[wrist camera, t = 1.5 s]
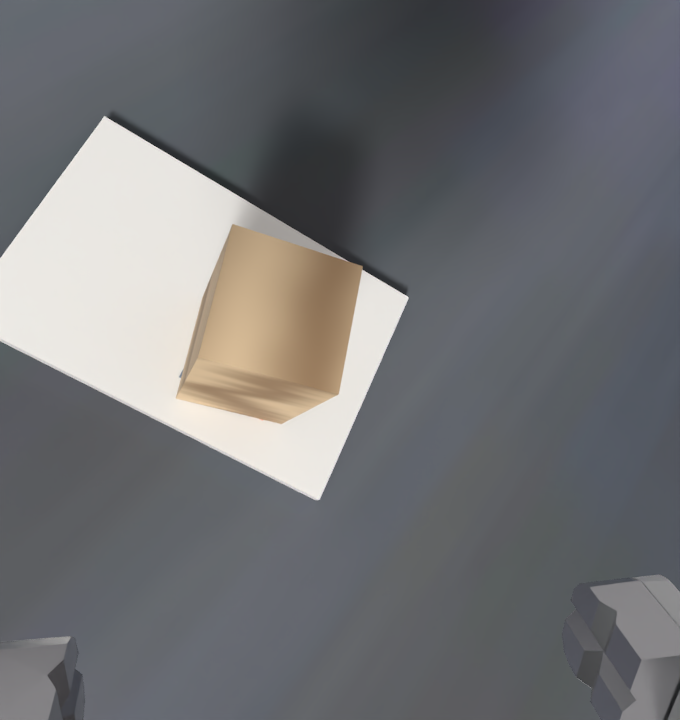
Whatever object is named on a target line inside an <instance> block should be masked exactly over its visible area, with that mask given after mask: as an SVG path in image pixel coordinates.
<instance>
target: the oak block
mask: <svg viewBox="0 0 680 720" xmlns="http://www.w3.org/2000/svg"><path fill="white" fill-rule="evenodd" d="M362 268H363V266H360V265H357V264H354V263H351V262H348V261H345V260H342V259H339V258H336V257H333V256H330V255H327V254H323V253H320V252H317V251H314V250H311V249H308V248H305V247H302V246H299V245H296V244H293V243H290V242H287V241H284V240H280V239H277V238H274V237H271V236H268V235H265V234H262V233H259V232H256V231H253V230H250V229H247V228H244V227H240V226H237V225H234V224H232V227H231V229H230V231H229V234H228V236H227V239H226V241H225V244H224V246H223V248H222V251H221V253H220V256H219V258H218V261H217V263H216V266H215V268H214V270H213V273H212V275H211V278H210V280H209V283H208V285H207V287H206V290H205V292H204V295H203V297H202V301H201V305H200V309H199V312H198V316H197V320H196V324H195V327H194V331H193V335H192V339H191V342H190V346H189V350H188V354H187V358H186V361H185V365H184V369H183V373H182V376H181V380H180V384H179V388H178V392H177V395H176V399H180V400H184V401H188V402H192V403H196V404H200V405H205V406H209V407H213V408H217V409H221V410H225V411H229V412H233V413H238V414H242V415H246V416H250V417H254V418H258V419H262V420H266V421H270V422H275V423H279V424H283V423H285V422H286V421H288V420H290V419H292V418H294V417H296V416H298V415H300V414H302V413H304V412H306V411H308V410H310V409H312V408H313V407H315V406H317V405H319V404H321V403H323V402H325V401H327V400H329V399H331V398H333V397H335V396H337V395H339V391H340V386H341V380H342V375H343V370H344V364H345V359H346V354H347V348H348V343H349V338H350V332H351V327H352V322H353V316H354V311H355V306H356V300H357V295H358V290H359V284H360V279H361V274H362Z"/></svg>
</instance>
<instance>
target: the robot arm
mask: <svg viewBox="0 0 680 720" xmlns="http://www.w3.org/2000/svg"><path fill="white" fill-rule="evenodd" d="M571 602H572V603H573V605H574V606H575V608H576V609H575V610H574V611H573V612H572V613H571V614H570V615H569V616H568V617H567V618H566V619H565V623H564V627H563V632H562V639H563V647H564V652H565V655H566V658H567V661H568V663H569V665H570V667H571V669H572V671H573V672H574V674H575V676H576V678H578V679H579V680H581V681H582V682H584V683H585V684H586V685H588V686H589V687H591V688H592V691H591V701H590V702H591V704H592V705H593V707H594V709H595V710H596V712H597V714H598V715H599V717H600V719H601V720H680V592H679V591H678V590H677V589H676V587H675V586H674V585H673V584H672V583H671V582H670V581H669V580H668V579H667V578H665V577H663V576H662V575H652V576H643V577H634V578H622V579H614V580H605V581H596V582H588V583H580V584H579V585H578V586H577V587H576V588H575V589H574V591H573V594H572V597H571ZM77 658H78V648H77V644H76V639H75V637H72V636H70V637H57V638H44V639H31V640H18V641H5V642H0V720H83V717H84V705H85V695H84V682H83V676H82V674H81V673H80V672H79V671H77V670H76V669H75V667H76V663H77Z"/></svg>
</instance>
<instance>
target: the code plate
mask: <svg viewBox="0 0 680 720" xmlns="http://www.w3.org/2000/svg"><path fill="white" fill-rule="evenodd" d="M232 224H234V225H237V226H240V227H244V228H247V229H250V230H253V231H256V232H259V233H262V234H265V235H268V236H271V237H274V238H277V239H280V240H284V241H287V242H290V243H293V244H296V245H299V246H302V247H305V248H308V249H311V250H314V251H317V252H320V253H323V254H327V255H330V256H333V257H336V258H339V259H342V260H345V259H343V258H342V257H340V256H338V255H337V254H335V253H333V252H332V251H330V250H328V249H327V248H325V247H323V246H322V245H320V244H318V243H317V242H315V241H313V240H312V239H310V238H308V237H306V236H305V235H303V234H301V233H300V232H298V231H296V230H295V229H293V228H291V227H290V226H288V225H286V224H285V223H283V222H281V221H280V220H278V219H276V218H275V217H273V216H271V215H270V214H268V213H266V212H264V211H263V210H261V209H259V208H258V207H256V206H254V205H253V204H251V203H249V202H248V201H246V200H244V199H243V198H241V197H239V196H238V195H236V194H234V193H233V192H231V191H229V190H228V189H226V188H224V187H222V186H221V185H219V184H217V183H216V182H214V181H212V180H211V179H209V178H207V177H206V176H204V175H202V174H201V173H199V172H197V171H196V170H194V169H192V168H191V167H189V166H187V165H186V164H184V163H182V162H180V161H179V160H177V159H175V158H174V157H172V156H170V155H169V154H167V153H165V152H164V151H162V150H160V149H159V148H157V147H155V146H154V145H152V144H150V143H149V142H147V141H145V140H144V139H142V138H140V137H138V136H137V135H135V134H133V133H132V132H130V131H128V130H127V129H125V128H123V127H122V126H120V125H118V124H117V123H115V122H113V121H112V120H110V119H108V118H107V117H105V116H104V118H103V119H102V120H101V122H100V123H99V125H98V126H97V127H96V129H95V130H94V131H93V133H92V134H91V135H90V137H89V138H88V140H87V141H86V142H85V144H84V145H83V146H82V148H81V149H80V150H79V152H78V153H77V155H76V156H75V157H74V159H73V160H72V161H71V163H70V164H69V165H68V167H67V168H66V169H65V171H64V172H63V174H62V175H61V176H60V178H59V179H58V180H57V182H56V183H55V184H54V186H53V187H52V189H51V190H50V191H49V193H48V194H47V195H46V197H45V198H44V199H43V201H42V202H41V204H40V205H39V206H38V208H37V209H36V210H35V212H34V213H33V214H32V216H31V217H30V219H29V220H28V221H27V223H26V224H25V225H24V227H23V228H22V229H21V231H20V232H19V234H18V235H17V236H16V238H15V239H14V240H13V242H12V243H11V244H10V246H9V247H8V249H7V250H6V251H5V253H4V254H3V255H2V257H1V258H0V341H1V342H3V343H5V344H7V345H9V346H11V347H13V348H15V349H17V350H19V351H21V352H23V353H25V354H27V355H29V356H31V357H33V358H34V359H36V360H38V361H40V362H42V363H44V364H46V365H48V366H50V367H52V368H54V369H56V370H58V371H60V372H62V373H64V374H66V375H68V376H70V377H72V378H74V379H76V380H78V381H80V382H82V383H84V384H86V385H88V386H90V387H92V388H94V389H96V390H98V391H100V392H102V393H104V394H106V395H108V396H110V397H112V398H114V399H116V400H118V401H120V402H122V403H124V404H126V405H128V406H130V407H132V408H134V409H136V410H138V411H139V412H141V413H143V414H145V415H147V416H149V417H151V418H153V419H155V420H157V421H159V422H161V423H163V424H165V425H167V426H169V427H171V428H173V429H175V430H177V431H179V432H181V433H183V434H185V435H187V436H189V437H191V438H193V439H195V440H197V441H199V442H201V443H203V444H205V445H207V446H209V447H211V448H213V449H215V450H217V451H219V452H221V453H223V454H225V455H227V456H229V457H231V458H233V459H235V460H237V461H239V462H241V463H243V464H245V465H246V466H248V467H250V468H252V469H254V470H256V471H258V472H260V473H262V474H264V475H266V476H268V477H270V478H272V479H274V480H276V481H278V482H280V483H282V484H284V485H286V486H288V487H290V488H292V489H294V490H296V491H298V492H300V493H302V494H304V495H306V496H308V497H310V498H312V499H314V500H320V497H321V495H322V493H323V491H324V488H325V486H326V484H327V482H328V479H329V477H330V475H331V473H332V470H333V468H334V466H335V463H336V461H337V459H338V457H339V454H340V452H341V450H342V448H343V445H344V443H345V441H346V439H347V436H348V434H349V432H350V430H351V427H352V425H353V423H354V420H355V418H356V416H357V414H358V411H359V409H360V407H361V405H362V402H363V400H364V398H365V396H366V393H367V391H368V389H369V387H370V384H371V382H372V380H373V378H374V375H375V373H376V371H377V368H378V366H379V364H380V362H381V359H382V357H383V355H384V353H385V350H386V348H387V346H388V344H389V341H390V339H391V337H392V335H393V332H394V330H395V328H396V325H397V323H398V321H399V319H400V316H401V314H402V312H403V310H404V307H405V305H406V303H407V301H408V298H409V297H407V296H406V295H404V294H402V293H401V292H399V291H397V290H396V289H394V288H392V287H391V286H389V285H387V284H385V283H384V282H382V281H380V280H379V279H377V278H375V277H374V276H372V275H370V274H369V273H367V272H365V271H364V270H362V274H361V279H360V284H359V290H358V295H357V300H356V306H355V311H354V316H353V322H352V327H351V332H350V338H349V343H348V348H347V354H346V359H345V364H344V370H343V375H342V380H341V386H340V391H339V395H337V396H335V397H333V398H331V399H329V400H327V401H325V402H323V403H321V404H319V405H317V406H315V407H313V408H312V409H310V410H308V411H306V412H304V413H302V414H300V415H298V416H296V417H294V418H292V419H290V420H288V421H286V422H285V423H283V424H279V423H275V422H270V421H266V420H262V419H258V418H254V417H250V416H246V415H242V414H238V413H233V412H229V411H225V410H221V409H217V408H213V407H209V406H205V405H200V404H196V403H192V402H188V401H184V400H180V399H176V395H177V392H178V388H179V384H180V380H181V376H182V373H183V369H184V365H185V361H186V358H187V354H188V350H189V346H190V342H191V339H192V335H193V331H194V327H195V324H196V320H197V316H198V312H199V309H200V305H201V301H202V297H203V295H204V292H205V290H206V287H207V285H208V283H209V280H210V278H211V275H212V273H213V270H214V268H215V266H216V263H217V261H218V258H219V256H220V253H221V251H222V248H223V246H224V244H225V241H226V239H227V236H228V234H229V231H230V229H231V227H232ZM345 261H347V260H345ZM348 262H349V261H348Z"/></svg>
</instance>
